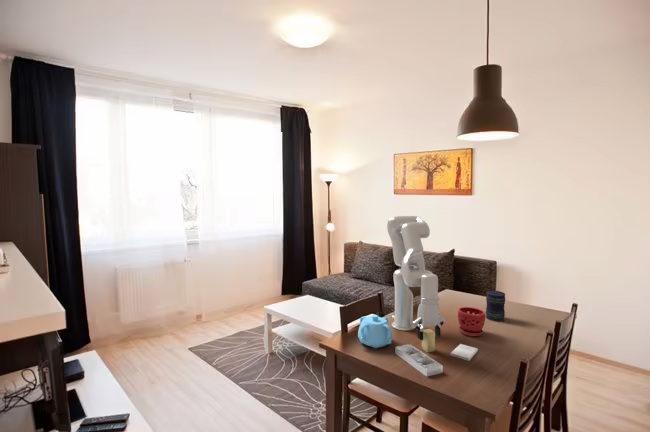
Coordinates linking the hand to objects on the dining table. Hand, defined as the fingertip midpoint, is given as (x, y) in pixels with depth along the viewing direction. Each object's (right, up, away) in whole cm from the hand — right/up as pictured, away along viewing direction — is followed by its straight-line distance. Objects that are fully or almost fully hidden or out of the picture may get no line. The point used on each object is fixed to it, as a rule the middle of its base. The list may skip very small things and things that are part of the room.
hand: (429, 337), depth 165 cm
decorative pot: (-24, -6, +9) cm, 26 cm away
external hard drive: (+15, -7, -2) cm, 17 cm away
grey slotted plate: (-8, -7, -11) cm, 15 cm away
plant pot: (+28, -5, +20) cm, 35 cm away
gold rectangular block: (0, -6, +1) cm, 6 cm away
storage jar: (+50, -3, +40) cm, 64 cm away
